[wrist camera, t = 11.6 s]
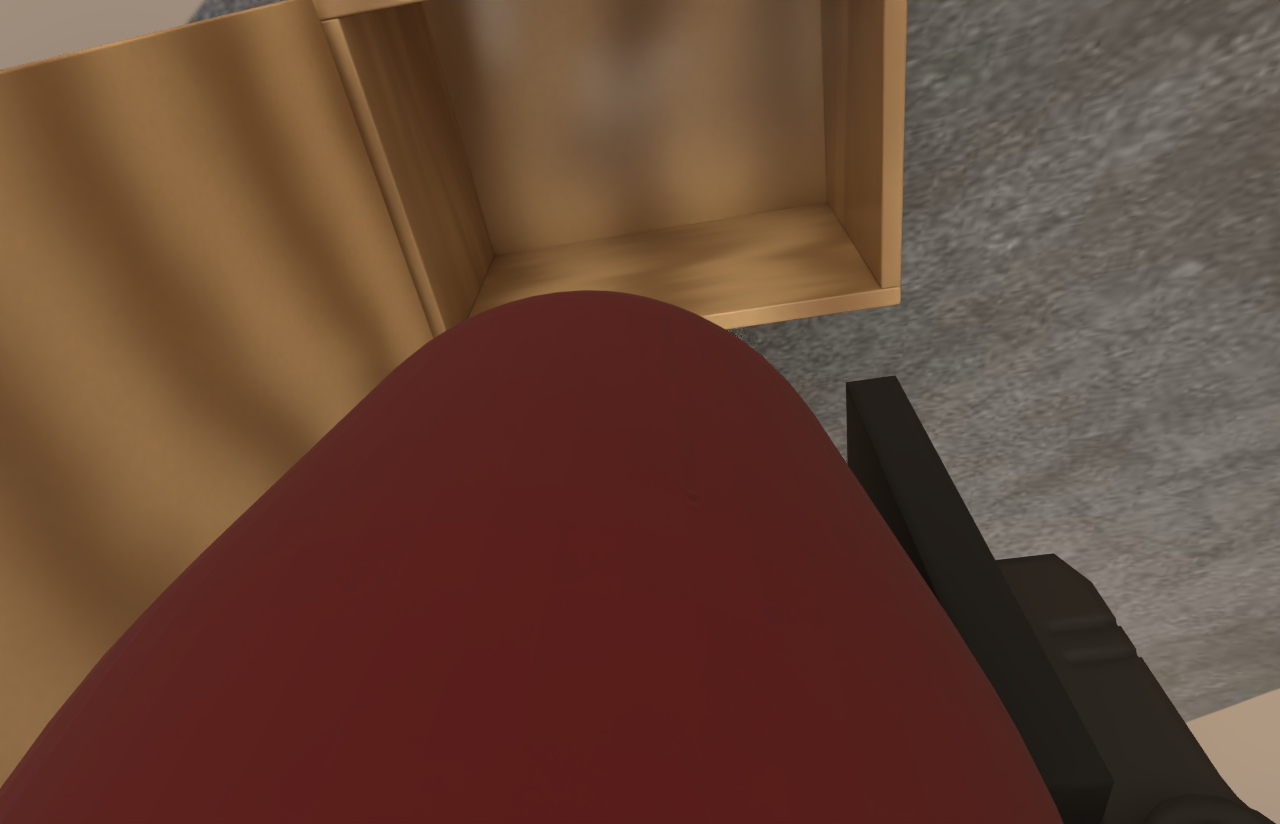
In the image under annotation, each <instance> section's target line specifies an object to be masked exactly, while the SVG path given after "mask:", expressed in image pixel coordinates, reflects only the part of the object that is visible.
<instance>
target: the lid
mask: <svg viewBox="0 0 1280 824" xmlns="http://www.w3.org/2000/svg"><path fill="white" fill-rule="evenodd" d="M432 339H433V336H432V333H431V330H430V328H429V325H428V322H427V319H426V316H425V314H424V311H423V308H422V305H421V302H420V300H419V297H418V294H417V291H416V289H415V286H414V283H413V280H412V277H411V275H410V272H409V269H408V266H407V263H406V261H405V258H404V255H403V252H402V249H401V247H400V244H399V241H398V238H397V235H396V233H395V230H394V227H393V224H392V221H391V219H390V216H389V213H388V210H387V207H386V205H385V202H384V199H383V196H382V193H381V191H380V188H379V185H378V182H377V180H376V177H375V174H374V171H373V168H372V166H371V163H370V160H369V157H368V154H367V152H366V149H365V146H364V143H363V140H362V138H361V135H360V132H359V129H358V126H357V124H356V121H355V118H354V115H353V112H352V110H351V107H350V104H349V101H348V98H347V96H346V93H345V90H344V87H343V84H342V82H341V79H340V76H339V73H338V71H337V68H336V65H335V62H334V59H333V57H332V54H331V51H330V48H329V45H328V43H327V40H326V37H325V34H324V31H323V29H322V26H321V23H320V20H319V17H318V15H317V12H316V9H315V6H314V3H313V1H312V0H284V1H280V2H276V3H272V4H268V5H264V6H260V7H256V8H252V9H247V10H243V11H239V12H235V13H231V14H227V15H223V16H219V17H215V18H211V19H207V20H202V21H198V22H194V23H190V24H186V25H182V26H178V27H174V28H170V29H166V30H162V31H158V32H153V33H150V34H145V35H141V36H137V37H133V38H129V39H125V40H121V41H117V42H113V43H108V44H104V45H100V46H96V47H92V48H88V49H84V50H80V51H76V52H72V53H68V54H63V55H59V56H55V57H51V58H47V59H43V60H39V61H35V62H31V63H27V64H23V65H18V66H15V67H10V68H6V69H2V70H0V788H1V787H2V785H3V784H4V783H5V781H6V780H7V778H8V777H9V776H10V774H11V773H12V772H13V770H14V769H15V768H16V766H17V765H18V763H19V762H20V761H21V759H22V758H23V757H24V755H25V754H26V753H27V751H28V750H29V748H30V747H31V746H32V744H33V743H34V742H35V740H36V739H37V737H38V736H39V735H40V733H41V732H42V731H43V729H44V728H45V727H46V725H47V724H48V722H49V721H50V720H51V719H52V718H53V716H54V715H55V714H56V713H57V711H58V710H59V709H60V708H61V707H62V705H63V704H64V703H65V702H66V700H67V699H68V698H69V697H70V696H71V694H72V693H73V692H74V691H75V689H76V688H77V687H78V686H79V685H80V683H81V682H82V681H83V680H84V679H85V677H86V676H87V675H88V674H89V672H90V671H91V670H92V669H93V668H94V666H95V665H96V664H97V663H98V661H99V660H100V659H101V658H102V657H103V655H104V654H105V653H106V652H107V651H108V650H109V649H110V648H111V647H112V646H113V644H114V643H115V642H116V641H117V640H118V639H119V638H120V637H121V636H122V635H123V634H124V633H125V631H126V630H127V629H128V628H129V627H130V626H131V625H132V624H133V623H134V622H135V621H136V619H137V618H138V617H139V616H140V615H141V614H142V613H143V612H144V611H145V610H146V609H147V608H148V607H149V606H150V605H151V604H152V603H153V602H154V601H155V600H156V599H157V598H158V597H159V596H160V595H161V594H162V593H163V592H164V590H165V589H166V588H167V587H168V586H169V585H170V584H171V583H172V582H173V581H174V580H175V579H176V578H177V577H178V576H179V575H180V574H181V573H182V572H183V571H184V570H185V569H186V568H187V567H188V566H189V565H190V564H191V563H192V562H193V561H194V560H195V559H196V558H197V557H198V556H199V555H200V554H201V553H202V552H203V551H204V550H206V549H207V548H208V547H209V546H210V545H211V544H212V543H213V542H214V541H215V540H216V539H217V538H218V537H219V536H220V535H221V534H222V533H223V532H224V531H225V530H226V529H227V528H229V527H230V526H231V525H232V524H233V523H234V522H235V521H236V520H237V519H238V518H239V517H240V516H241V515H242V514H243V513H244V512H245V511H246V510H247V509H248V508H249V507H250V506H252V505H253V504H254V503H255V502H256V501H257V500H258V499H259V498H260V497H261V496H262V495H263V494H264V493H265V492H266V491H267V490H268V489H269V488H270V487H271V486H272V485H273V484H275V483H276V482H277V481H278V480H279V479H280V478H281V477H282V476H283V475H284V474H285V473H286V472H287V471H288V470H289V469H290V468H291V467H292V466H293V465H294V464H295V463H297V462H298V461H299V460H300V459H301V458H302V457H303V456H304V455H305V454H306V453H307V452H308V451H309V450H310V449H311V448H312V447H313V446H314V445H315V444H316V443H317V442H318V441H320V440H321V439H322V438H323V437H324V436H325V435H326V434H327V433H328V432H329V431H330V430H331V429H332V428H333V427H334V426H335V425H336V424H337V423H338V422H339V421H340V420H341V419H343V418H344V417H345V416H346V415H347V414H348V413H349V412H350V411H351V410H352V409H353V408H354V407H355V406H356V405H357V404H358V403H359V402H360V401H361V400H362V399H363V398H364V397H366V396H367V395H368V394H369V393H370V392H371V391H372V390H373V389H374V388H375V387H376V386H377V385H378V384H379V383H380V382H381V381H382V380H383V379H384V378H385V377H386V376H388V375H389V374H390V373H391V372H392V371H393V370H394V369H395V368H396V367H397V366H399V365H400V364H401V363H402V362H404V361H405V360H406V359H407V358H408V357H410V356H411V355H412V354H413V353H415V352H416V351H417V350H418V349H420V348H421V347H422V346H423V345H425V344H426V343H427V342H429V341H430V340H432Z"/></svg>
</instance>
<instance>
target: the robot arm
mask: <svg viewBox="0 0 1280 824" xmlns="http://www.w3.org/2000/svg"><path fill="white" fill-rule="evenodd" d="M846 408H847V456H848V466H849V468H850V469H851V471H852V472H853V474H854V475H855V477H856V478H857V480H858V481H859V483H860V484H861V486H862V487H863V489H864V490H865V492H866V493H867V495H868V496H869V498H870V499H871V501H872V502H873V504H874V505H875V507H876V508H877V510H878V511H879V513H880V514H881V516H882V517H883V519H884V520H885V522H886V523H887V525H888V526H889V528H890V529H891V531H892V532H893V534H894V535H895V537H896V538H897V540H898V541H899V543H900V544H901V546H902V547H903V549H904V550H905V552H906V553H907V555H908V556H909V558H910V559H911V561H912V562H913V564H914V565H915V567H916V568H917V570H918V571H919V573H920V574H921V576H922V577H923V579H924V580H925V582H926V583H927V585H928V586H929V588H930V589H931V591H932V592H933V594H934V595H935V597H936V598H937V600H938V601H939V603H940V604H941V606H942V607H943V609H944V610H945V612H946V613H947V615H948V616H949V618H950V619H951V621H952V623H953V624H954V626H955V627H956V629H957V631H958V632H959V634H960V635H961V637H962V638H963V640H964V642H965V643H966V645H967V646H968V648H969V650H970V651H971V653H972V654H973V656H974V657H975V659H976V661H977V662H978V664H979V665H980V667H981V669H982V670H983V672H984V673H985V675H986V677H987V678H988V680H989V681H990V683H991V685H992V686H993V688H994V689H995V691H996V693H997V695H998V696H999V698H1000V700H1001V702H1002V703H1003V705H1004V707H1005V708H1006V710H1007V712H1008V714H1009V715H1010V717H1011V719H1012V721H1013V722H1014V724H1015V726H1016V728H1017V729H1018V731H1019V733H1020V735H1021V737H1022V739H1023V741H1024V743H1025V745H1026V747H1027V749H1028V751H1029V753H1030V755H1031V757H1032V759H1033V761H1034V763H1035V765H1036V767H1037V769H1038V771H1039V773H1040V775H1041V777H1042V779H1043V781H1044V783H1045V785H1046V787H1047V789H1048V791H1049V793H1050V795H1051V797H1052V799H1053V801H1054V803H1055V805H1056V807H1057V809H1058V812H1059V814H1060V816H1061V819H1062V821H1063V823H1064V824H1276V823H1274V822H1273V821H1271V820H1270V819H1268V818H1267V817H1265V816H1264V815H1263V814H1261V813H1260V812H1258V811H1256V810H1254V809H1251V808H1249V807H1248V806H1247V805H1246V804H1245V803H1244V802H1242V800H1240V799H1239V798H1238V797H1237V796H1236V795H1235V793H1234V792H1233V791H1232V790H1231V788H1230V787H1229V786H1228V785H1227V783H1226V782H1225V781H1224V780H1223V779H1222V777H1221V776H1220V775H1219V773H1218V772H1217V770H1216V769H1215V767H1214V766H1213V764H1212V763H1211V761H1210V760H1209V758H1208V756H1207V755H1206V753H1205V752H1204V751H1203V749H1202V747H1201V746H1200V745H1199V743H1198V741H1197V740H1196V738H1195V737H1194V735H1193V734H1192V732H1191V731H1190V730H1189V728H1188V726H1187V725H1186V723H1185V722H1184V720H1183V719H1182V717H1181V716H1180V714H1179V713H1178V711H1177V710H1176V708H1175V707H1174V705H1173V704H1172V702H1171V701H1170V699H1169V698H1168V696H1167V695H1166V693H1165V692H1164V690H1163V689H1162V687H1161V686H1160V684H1159V683H1158V681H1157V680H1156V678H1155V677H1154V675H1153V674H1152V672H1151V671H1150V669H1149V668H1148V666H1147V665H1146V663H1145V662H1144V660H1143V659H1142V657H1138V656H1137V653H1136V648H1135V647H1134V645H1133V644H1132V642H1131V641H1130V639H1129V638H1128V636H1127V635H1126V633H1125V632H1124V630H1123V629H1122V627H1121V626H1118V625H1117V623H1116V618H1115V617H1114V615H1113V614H1112V612H1111V611H1110V609H1109V608H1108V606H1107V605H1106V603H1105V602H1104V600H1103V599H1102V597H1101V596H1100V594H1099V593H1098V591H1097V590H1096V588H1095V587H1094V585H1093V584H1092V582H1090V581H1089V580H1088V579H1087V578H1085V577H1084V576H1083V575H1081V574H1080V573H1079V572H1077V571H1076V570H1075V569H1073V568H1072V567H1071V566H1070V565H1068V564H1067V563H1066V562H1064V561H1063V560H1062V559H1060V558H1059V557H1058V556H1056V555H1055V554H1045V555H1037V556H1028V557H1019V558H1011V559H1002V560H995V559H994V557H993V555H992V553H991V552H990V550H989V548H988V546H987V544H986V542H985V541H984V539H983V537H982V535H981V533H980V531H979V529H978V528H977V526H976V524H975V522H974V520H973V518H972V516H971V515H970V513H969V511H968V509H967V507H966V505H965V503H964V502H963V500H962V498H961V496H960V494H959V492H958V491H957V489H956V487H955V485H954V483H953V481H952V479H951V478H950V476H949V474H948V472H947V470H946V468H945V466H944V465H943V463H942V461H941V459H940V457H939V455H938V453H937V452H936V450H935V448H934V446H933V444H932V442H931V440H930V439H929V437H928V435H927V433H926V431H925V429H924V428H923V426H922V424H921V422H920V420H919V418H918V416H917V415H916V413H915V411H914V409H913V407H912V405H911V403H910V402H909V400H908V398H907V396H906V394H905V392H904V390H903V389H902V387H901V385H900V383H899V381H898V379H897V378H896V376H889V377H881V378H874V379H867V380H860V381H853V382H846Z"/></svg>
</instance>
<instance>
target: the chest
mask: <svg viewBox="0 0 1280 824" xmlns="http://www.w3.org/2000/svg"><path fill="white" fill-rule="evenodd" d="M312 1H313V3H314V6H315V9H316V12H317V15H318V17H319V20H320V23H321V26H322V29H323V31H324V34H325V37H326V40H327V43H328V45H329V48H330V51H331V54H332V57H333V59H334V62H335V65H336V68H337V71H338V73H339V76H340V79H341V82H342V84H343V87H344V90H345V93H346V96H347V98H348V101H349V104H350V107H351V110H352V112H353V115H354V118H355V121H356V124H357V126H358V129H359V132H360V135H361V138H362V140H363V143H364V146H365V149H366V152H367V154H368V157H369V160H370V163H371V166H372V168H373V171H374V174H375V177H376V180H377V182H378V185H379V188H380V191H381V193H382V196H383V199H384V202H385V205H386V207H387V210H388V213H389V216H390V219H391V221H392V224H393V227H394V230H395V233H396V235H397V238H398V241H399V244H400V247H401V249H402V252H403V255H404V258H405V261H406V263H407V266H408V269H409V272H410V275H411V277H412V280H413V283H414V286H415V289H416V291H417V294H418V297H419V300H420V302H421V305H422V308H423V311H424V314H425V316H426V319H427V322H428V325H429V328H430V330H431V333H432V336H433V339H434V338H435V337H437V336H438V335H440V334H442V333H443V332H445V331H446V330H448V329H450V328H451V327H453V326H455V325H456V324H458V323H460V322H462V321H464V320H466V319H468V318H470V317H472V316H474V315H477V314H479V313H481V312H484V311H487V310H489V309H492V308H495V307H497V306H500V305H503V304H506V303H509V302H513V301H516V300H520V299H524V298H528V297H532V296H537V295H543V294H549V293H555V292H566V291H580V290H598V291H614V292H623V293H630V294H635V295H640V296H645V297H649V298H652V299H656V300H659V301H662V302H666V303H669V304H672V305H675V306H678V307H680V308H683V309H685V310H688V311H690V312H693V313H695V314H697V315H699V316H701V317H703V318H705V319H707V320H709V321H711V322H713V323H715V324H717V325H718V326H720V327H722V328H723V329H732V328H739V327H746V326H753V325H759V324H766V323H773V322H780V321H787V320H793V319H800V318H807V317H814V316H821V315H828V314H834V313H841V312H848V311H855V310H862V309H868V308H875V307H882V306H889V305H896V304H900V297H901V287H900V284H901V249H902V207H903V165H904V123H905V81H906V39H907V0H312Z"/></svg>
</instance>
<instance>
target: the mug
mask: <svg viewBox="0 0 1280 824" xmlns="http://www.w3.org/2000/svg"><path fill="white" fill-rule="evenodd" d="M0 824H1064V823H1063V821H1062V819H1061V816H1060V814H1059V812H1058V809H1057V807H1056V805H1055V803H1054V801H1053V799H1052V797H1051V795H1050V793H1049V791H1048V789H1047V787H1046V785H1045V783H1044V781H1043V779H1042V777H1041V775H1040V773H1039V771H1038V769H1037V767H1036V765H1035V763H1034V761H1033V759H1032V757H1031V755H1030V753H1029V751H1028V749H1027V747H1026V745H1025V743H1024V741H1023V739H1022V737H1021V735H1020V733H1019V731H1018V729H1017V728H1016V726H1015V724H1014V722H1013V721H1012V719H1011V717H1010V715H1009V714H1008V712H1007V710H1006V708H1005V707H1004V705H1003V703H1002V702H1001V700H1000V698H999V696H998V695H997V693H996V691H995V689H994V688H993V686H992V685H991V683H990V681H989V680H988V678H987V677H986V675H985V673H984V672H983V670H982V669H981V667H980V665H979V664H978V662H977V661H976V659H975V657H974V656H973V654H972V653H971V651H970V650H969V648H968V646H967V645H966V643H965V642H964V640H963V638H962V637H961V635H960V634H959V632H958V631H957V629H956V627H955V626H954V624H953V623H952V621H951V619H950V618H949V616H948V615H947V613H946V612H945V610H944V609H943V607H942V606H941V604H940V603H939V601H938V600H937V598H936V597H935V595H934V594H933V592H932V591H931V589H930V588H929V586H928V585H927V583H926V582H925V580H924V579H923V577H922V576H921V574H920V573H919V571H918V570H917V568H916V567H915V565H914V564H913V562H912V561H911V559H910V558H909V556H908V555H907V553H906V552H905V550H904V549H903V547H902V546H901V544H900V543H899V541H898V540H897V538H896V537H895V535H894V534H893V532H892V531H891V529H890V528H889V526H888V525H887V523H886V522H885V520H884V519H883V517H882V516H881V514H880V513H879V511H878V510H877V508H876V507H875V505H874V504H873V502H872V501H871V499H870V498H869V496H868V495H867V493H866V492H865V490H864V489H863V487H862V486H861V484H860V483H859V481H858V480H857V478H856V477H855V475H854V474H853V472H852V471H851V469H850V468H849V466H848V465H847V463H846V462H845V460H844V459H843V457H842V456H841V454H840V453H839V451H838V450H837V448H836V447H835V445H834V444H833V442H832V441H831V439H830V438H829V436H828V435H827V433H826V432H825V430H824V429H823V427H822V426H821V424H820V423H819V421H818V420H817V418H816V417H815V415H814V414H813V412H812V411H811V410H810V408H809V407H808V406H807V404H806V403H805V402H804V401H803V399H802V398H801V397H800V396H799V394H798V393H797V392H796V391H795V389H794V388H793V387H792V386H791V384H790V383H789V382H788V381H787V380H786V379H785V378H784V377H783V376H782V375H781V374H780V373H779V372H778V371H777V370H776V369H775V368H774V367H773V366H772V365H771V364H770V363H769V362H768V361H767V360H766V359H765V358H764V357H763V356H761V355H760V354H759V353H758V352H756V351H755V350H754V349H753V348H751V347H750V346H749V345H748V344H746V343H745V342H744V341H742V340H741V339H739V338H738V337H736V336H734V335H733V334H731V333H730V332H728V331H727V330H725V329H723V328H722V327H720V326H718V325H717V324H715V323H713V322H711V321H709V320H707V319H705V318H703V317H701V316H699V315H697V314H695V313H693V312H690V311H688V310H685V309H683V308H680V307H678V306H675V305H672V304H669V303H666V302H662V301H659V300H656V299H652V298H649V297H645V296H640V295H635V294H630V293H623V292H614V291H598V290H580V291H566V292H555V293H549V294H543V295H537V296H532V297H528V298H524V299H520V300H516V301H513V302H509V303H506V304H503V305H500V306H497V307H495V308H492V309H489V310H487V311H484V312H481V313H479V314H477V315H474V316H472V317H470V318H468V319H466V320H464V321H462V322H460V323H458V324H456V325H455V326H453V327H451V328H450V329H448V330H446V331H445V332H443V333H442V334H440V335H438V336H437V337H435V338H434V339H432V340H430V341H429V342H427V343H426V344H425V345H423V346H422V347H421V348H420V349H418V350H417V351H416V352H415V353H413V354H412V355H411V356H410V357H408V358H407V359H406V360H405V361H404V362H402V363H401V364H400V365H399V366H397V367H396V368H395V369H394V370H393V371H392V372H391V373H390V374H389V375H388V376H386V377H385V378H384V379H383V380H382V381H381V382H380V383H379V384H378V385H377V386H376V387H375V388H374V389H373V390H372V391H371V392H370V393H369V394H368V395H367V396H366V397H364V398H363V399H362V400H361V401H360V402H359V403H358V404H357V405H356V406H355V407H354V408H353V409H352V410H351V411H350V412H349V413H348V414H347V415H346V416H345V417H344V418H343V419H341V420H340V421H339V422H338V423H337V424H336V425H335V426H334V427H333V428H332V429H331V430H330V431H329V432H328V433H327V434H326V435H325V436H324V437H323V438H322V439H321V440H320V441H318V442H317V443H316V444H315V445H314V446H313V447H312V448H311V449H310V450H309V451H308V452H307V453H306V454H305V455H304V456H303V457H302V458H301V459H300V460H299V461H298V462H297V463H295V464H294V465H293V466H292V467H291V468H290V469H289V470H288V471H287V472H286V473H285V474H284V475H283V476H282V477H281V478H280V479H279V480H278V481H277V482H276V483H275V484H273V485H272V486H271V487H270V488H269V489H268V490H267V491H266V492H265V493H264V494H263V495H262V496H261V497H260V498H259V499H258V500H257V501H256V502H255V503H254V504H253V505H252V506H250V507H249V508H248V509H247V510H246V511H245V512H244V513H243V514H242V515H241V516H240V517H239V518H238V519H237V520H236V521H235V522H234V523H233V524H232V525H231V526H230V527H229V528H227V529H226V530H225V531H224V532H223V533H222V534H221V535H220V536H219V537H218V538H217V539H216V540H215V541H214V542H213V543H212V544H211V545H210V546H209V547H208V548H207V549H206V550H204V551H203V552H202V553H201V554H200V555H199V556H198V557H197V558H196V559H195V560H194V561H193V562H192V563H191V564H190V565H189V566H188V567H187V568H186V569H185V570H184V571H183V572H182V573H181V574H180V575H179V576H178V577H177V578H176V579H175V580H174V581H173V582H172V583H171V584H170V585H169V586H168V587H167V588H166V589H165V590H164V592H163V593H162V594H161V595H160V596H159V597H158V598H157V599H156V600H155V601H154V602H153V603H152V604H151V605H150V606H149V607H148V608H147V609H146V610H145V611H144V612H143V613H142V614H141V615H140V616H139V617H138V618H137V619H136V621H135V622H134V623H133V624H132V625H131V626H130V627H129V628H128V629H127V630H126V631H125V633H124V634H123V635H122V636H121V637H120V638H119V639H118V640H117V641H116V642H115V643H114V644H113V646H112V647H111V648H110V649H109V650H108V651H107V652H106V653H105V654H104V655H103V657H102V658H101V659H100V660H99V661H98V663H97V664H96V665H95V666H94V668H93V669H92V670H91V671H90V672H89V674H88V675H87V676H86V677H85V679H84V680H83V681H82V682H81V683H80V685H79V686H78V687H77V688H76V689H75V691H74V692H73V693H72V694H71V696H70V697H69V698H68V699H67V700H66V702H65V703H64V704H63V705H62V707H61V708H60V709H59V710H58V711H57V713H56V714H55V715H54V716H53V718H52V719H51V720H50V721H49V722H48V724H47V725H46V727H45V728H44V729H43V731H42V732H41V733H40V735H39V736H38V737H37V739H36V740H35V742H34V743H33V744H32V746H31V747H30V748H29V750H28V751H27V753H26V754H25V755H24V757H23V758H22V759H21V761H20V762H19V763H18V765H17V766H16V768H15V769H14V770H13V772H12V773H11V774H10V776H9V777H8V778H7V780H6V781H5V783H4V784H3V785H2V787H1V788H0Z"/></svg>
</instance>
